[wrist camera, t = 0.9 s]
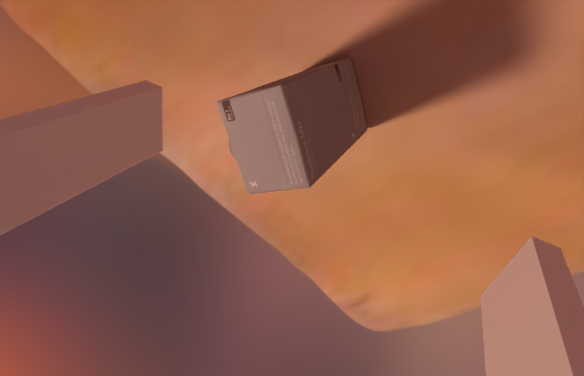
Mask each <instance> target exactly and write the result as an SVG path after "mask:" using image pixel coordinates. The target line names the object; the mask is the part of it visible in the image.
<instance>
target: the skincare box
mask: <svg viewBox="0 0 584 376" xmlns="http://www.w3.org/2000/svg"><path fill="white" fill-rule="evenodd" d="M217 106H218V109H219V112H220V114H221V117H222V120H223V123H224V126H225V128H226V131H227V134H228V137H229V149H230V152H231V154H232V155H233V157H234V158H235V159H236V161H237V163H238V166H239V168H240V171H241V174H242V177H243V180H244V182H245V185H246V188H247V191H248V193H250V194H253V193H263V192H273V191H282V190H292V189H301V188H310V187H311V186H312V185H313V184H314V183H315V182H316V181H317V180H318V179H319V178H320V177H321V176H322V175H323V174H324V173H325V172H326V171H327V170H328V169H329V168H330V167H331V166H332V165H333V164H334V163H335V162H336V161H337V160H338V159H339V158H340V157H341V156H342V155H343V154H344V153H345V152H346V151H347V150H348V149H349V148H350V147H351V146H352V145H353V144H354V143H355V142H356V141H357V140H358V139H359V138H360V137H361V136H362V135H363V134H364V133H365V132H366V130H367V126H366V121H365V115H364V110H363V105H362V100H361V96H360V91H359V87H358V83H357V79H356V75H355V71H354V67H353V64H352V60H351V59H350V58H346V59H342V60H339V61H335V62H331V63H328V64H324V65H321V66H318V67H315V68H312V69H309V70H306V71H303V72H300V73H297V74H294V75H292V76H289V77H286V78H283V79H280V80H277V81H274V82H272V83H269V84H266V85H263V86H260V87H257V88H255V89H253V90H250V91H247V92H244V93H241V94H238V95H235V96H232V97H229V98H226V99H223V100H220V101H217Z"/></svg>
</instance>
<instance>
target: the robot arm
mask: <svg viewBox="0 0 584 376" xmlns="http://www.w3.org/2000/svg"><path fill="white" fill-rule="evenodd" d="M161 151H163V142H162V87H161V86H158V85H156V84H153V83H151V82H148V81H142V82H138V83H134V84H131V85H127V86H123V87H120V88H116V89H112V90H109V91H105V92H101V93H97V94H94V95H90V96H86V97H83V98H79V99H75V100H72V101H68V102H64V103H60V104H57V105H53V106H50V107H46V108H42V109H38V110H35V111H31V112H27V113H23V114H20V115H16V116H13V117H9V118H5V119H1V120H0V235H2V234H4V233H6V232H8V231H9V230H11V229H13V228H15V227H17V226H19V225H21V224H23V223H25V222H27V221H29V220H31V219H32V218H34V217H36V216H38V215H40V214H42V213H44V212H46V211H48V210H50V209H52V208H53V207H55V206H57V205H59V204H61V203H63V202H65V201H67V200H69V199H71V198H73V197H75V196H77V195H78V194H80V193H82V192H84V191H86V190H88V189H90V188H92V187H94V186H96V185H98V184H100V183H101V182H103V181H105V180H107V179H109V178H111V177H113V176H115V175H117V174H118V173H120V172H123V171H125V170H126V169H128V168H130V167H132V166H134V165H136V164H138V163H140V162H142V161H143V160H146V159H148V158H149V157H151V156H153V155H155V154H157V153H159V152H161ZM481 308H482V322H483V336H484V350H485V365H486V376H584V306H583V304H582V301H581V299H580V296H579V294H578V291H577V289H576V286H575V284H574V281H573V278H572V276H571V273H570V271H569V268H568V266H567V263H566V261H565V258H564V256H563V253H562V251H561V248H559V247H557V246H554V245H552V244H549V243H547V242H544V241H542V240H539V239H537V238H534V237H531V238H530V239H529V240H528V241H527V242H526V244H525V245H524V246H523V247H522V248H521V249H520V251H519V252H518V253H517V254H516V255H515V256H514V258H513V259H512V260H511V261H510V262H509V263H508V265H507V266H506V267H505V268H504V269H503V270H502V272H501V273H500V274H499V275H498V276H497V277H496V278H495V280H494V281H493V282H492V283H491V284H490V285H489V287H488V288H487V289H486V290H485V291H484V292H483V294H482V295H481Z"/></svg>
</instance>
